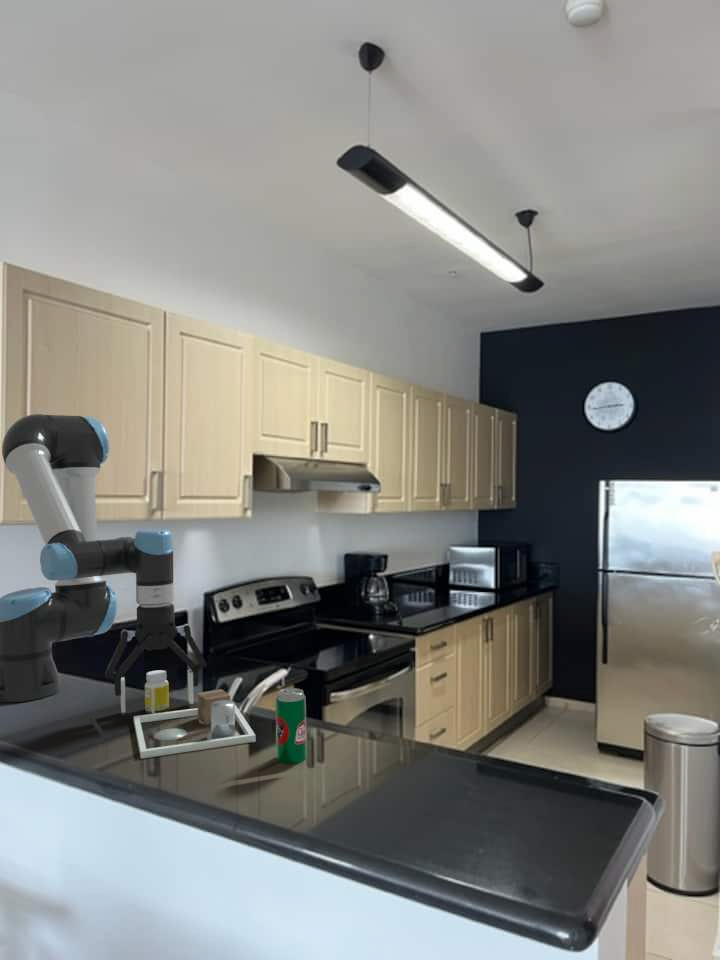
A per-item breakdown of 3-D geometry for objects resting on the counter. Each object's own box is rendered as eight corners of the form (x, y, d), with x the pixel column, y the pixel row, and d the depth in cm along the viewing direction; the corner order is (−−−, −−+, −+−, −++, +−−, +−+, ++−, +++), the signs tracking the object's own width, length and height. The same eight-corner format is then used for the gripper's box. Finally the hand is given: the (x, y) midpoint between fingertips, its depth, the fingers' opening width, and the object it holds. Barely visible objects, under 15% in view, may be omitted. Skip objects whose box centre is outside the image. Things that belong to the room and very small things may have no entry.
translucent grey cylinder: (209, 733, 134) (208, 701, 134) (232, 730, 135) (232, 698, 135) (213, 741, 129) (212, 708, 129) (237, 738, 131) (236, 705, 131)
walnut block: (197, 718, 142) (197, 693, 142) (221, 713, 145) (221, 689, 145) (206, 725, 138) (205, 699, 138) (230, 720, 141) (230, 695, 141)
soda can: (301, 768, 119) (300, 696, 118) (272, 766, 120) (271, 695, 120) (310, 757, 123) (309, 688, 123) (282, 755, 125) (281, 686, 124)
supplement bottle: (172, 709, 150) (171, 669, 150) (164, 717, 146) (163, 675, 146) (150, 709, 151) (149, 669, 151) (141, 716, 146) (140, 675, 146)
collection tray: (133, 725, 141) (133, 716, 141) (234, 712, 148) (234, 703, 148) (140, 762, 122) (140, 751, 122) (255, 745, 129) (255, 735, 129)
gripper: (91, 612, 140) (93, 720, 140) (218, 601, 149) (221, 703, 149) (91, 606, 147) (93, 709, 147) (212, 596, 156) (215, 693, 156)
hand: (157, 706), depth 148 cm, fingers open, 13 cm apart
